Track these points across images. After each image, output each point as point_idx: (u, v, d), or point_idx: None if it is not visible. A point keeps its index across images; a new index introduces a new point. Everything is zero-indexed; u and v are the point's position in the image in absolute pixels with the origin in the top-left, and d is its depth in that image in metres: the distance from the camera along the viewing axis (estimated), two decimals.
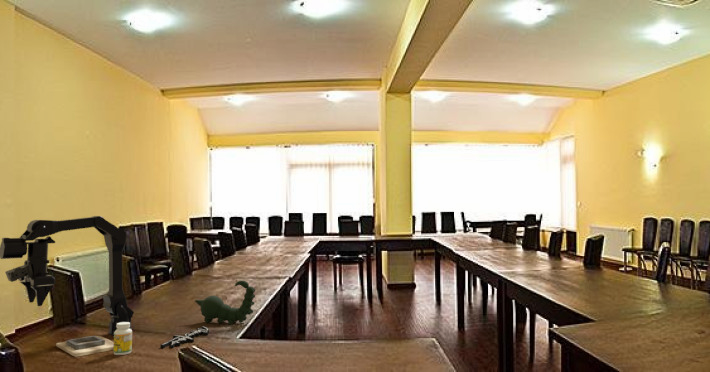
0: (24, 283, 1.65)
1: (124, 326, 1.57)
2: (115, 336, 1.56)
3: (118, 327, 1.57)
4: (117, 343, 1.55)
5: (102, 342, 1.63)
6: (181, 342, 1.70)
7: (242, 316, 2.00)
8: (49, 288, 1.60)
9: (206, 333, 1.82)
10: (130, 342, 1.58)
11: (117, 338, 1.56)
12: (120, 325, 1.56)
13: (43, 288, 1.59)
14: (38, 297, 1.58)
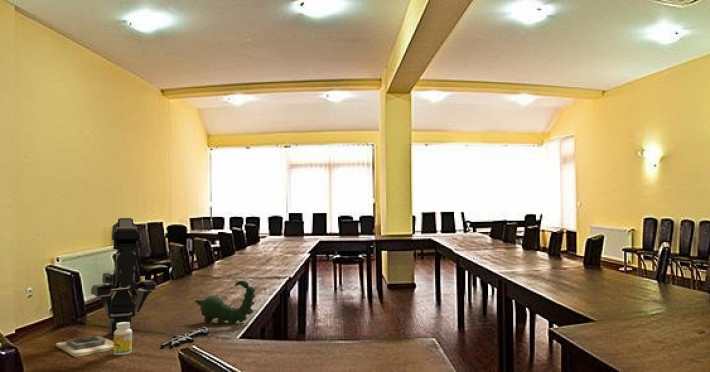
0: (137, 291, 1.64)
1: (124, 326, 1.57)
2: (115, 336, 1.56)
3: (118, 327, 1.57)
4: (117, 343, 1.55)
5: (102, 342, 1.63)
6: (181, 342, 1.70)
7: (242, 316, 2.00)
8: (105, 299, 1.53)
9: (206, 333, 1.82)
10: (130, 342, 1.58)
11: (117, 338, 1.56)
12: (120, 325, 1.56)
13: None
14: None
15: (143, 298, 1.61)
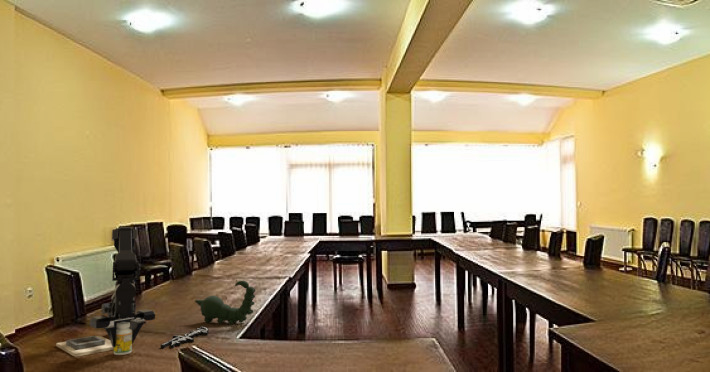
0: (131, 322, 1.62)
1: (124, 326, 1.57)
2: None
3: (118, 327, 1.57)
4: (117, 343, 1.55)
5: (102, 342, 1.63)
6: (181, 342, 1.70)
7: (242, 316, 2.00)
8: None
9: (206, 333, 1.82)
10: (130, 342, 1.58)
11: (117, 338, 1.56)
12: (120, 325, 1.56)
13: None
14: (109, 337, 1.56)
15: (137, 329, 1.60)
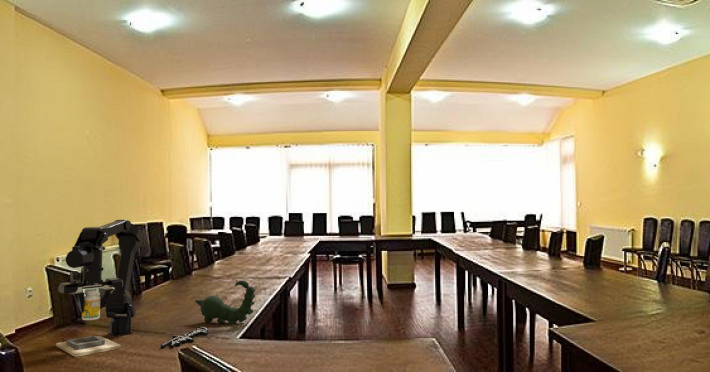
0: (99, 289, 1.68)
1: (92, 292, 1.62)
2: None
3: (86, 293, 1.62)
4: (85, 308, 1.61)
5: (102, 342, 1.63)
6: (181, 342, 1.69)
7: (242, 316, 2.00)
8: (78, 296, 1.59)
9: (205, 333, 1.82)
10: (98, 308, 1.63)
11: (85, 303, 1.61)
12: (88, 291, 1.62)
13: None
14: (77, 303, 1.61)
15: (105, 296, 1.65)
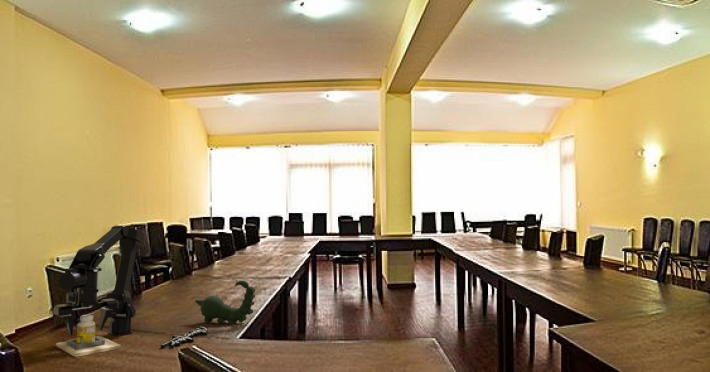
0: (100, 310, 1.69)
1: (87, 318, 1.63)
2: (78, 328, 1.62)
3: (81, 319, 1.62)
4: (80, 334, 1.61)
5: (102, 342, 1.63)
6: (181, 342, 1.69)
7: (242, 316, 2.00)
8: (67, 319, 1.58)
9: (205, 333, 1.82)
10: (93, 334, 1.63)
11: (80, 330, 1.61)
12: (83, 317, 1.62)
13: None
14: (67, 326, 1.60)
15: (105, 316, 1.67)
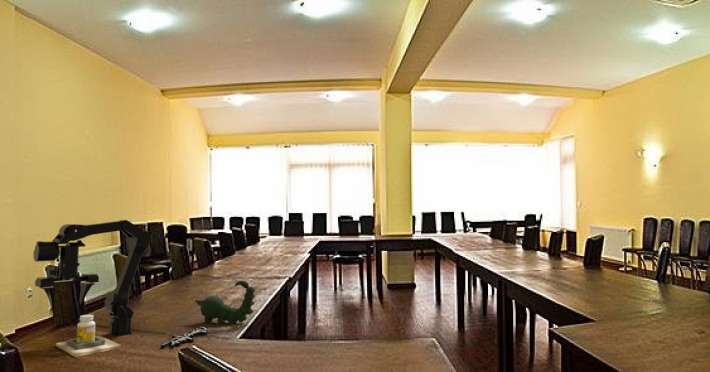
0: (80, 283, 1.75)
1: (87, 318, 1.62)
2: (78, 328, 1.62)
3: (81, 319, 1.62)
4: (80, 334, 1.61)
5: (102, 342, 1.63)
6: (181, 342, 1.69)
7: (242, 316, 2.00)
8: (49, 291, 1.64)
9: (205, 333, 1.82)
10: (93, 334, 1.63)
11: (80, 330, 1.61)
12: (83, 317, 1.62)
13: None
14: (48, 298, 1.66)
15: (86, 289, 1.73)
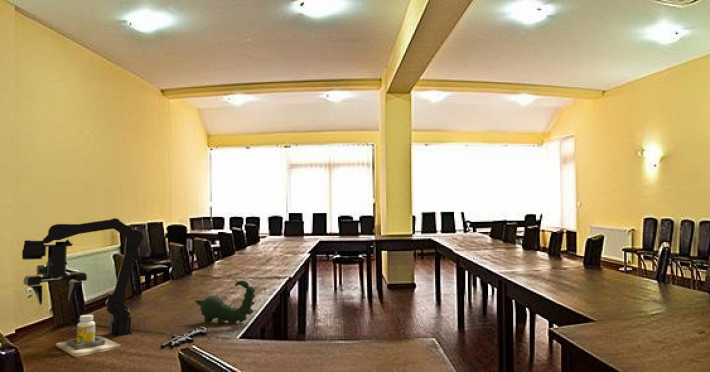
0: (69, 282, 1.80)
1: (87, 318, 1.62)
2: (78, 328, 1.62)
3: (81, 319, 1.62)
4: (80, 334, 1.61)
5: (102, 342, 1.63)
6: (181, 342, 1.69)
7: (242, 316, 2.00)
8: (36, 289, 1.68)
9: (205, 333, 1.82)
10: (93, 334, 1.63)
11: (80, 330, 1.61)
12: (83, 317, 1.62)
13: None
14: None
15: (74, 288, 1.77)
